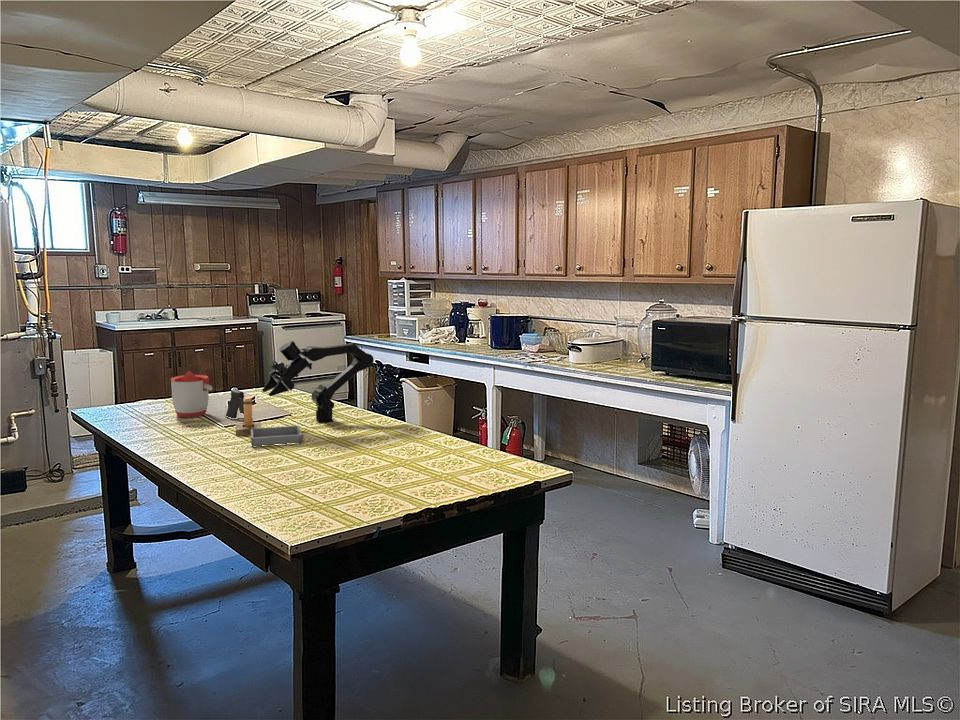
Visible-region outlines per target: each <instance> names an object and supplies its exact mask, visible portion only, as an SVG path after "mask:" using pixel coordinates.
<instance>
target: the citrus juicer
mask: <svg viewBox="0 0 960 720" xmlns="http://www.w3.org/2000/svg"><path fill="white" fill-rule="evenodd" d="M209 379H210V377H209V376H207V375H206V374H205V375H204V374H194V372H192V371H187V372H186V373H185V374H184V375H177V376H174V377H173V376H172V377H171V378H170V385H171V401H172V404H173V408H174V412H175V413H176V416H177V417H180V418H198V417H200V416H204V415H205V414H206V412H207V410H208V405H209V400H210V398H209V397H210V395H209V391H212V390H213V389H214V388H213V386H212V385H211V384H210V380H209Z"/></svg>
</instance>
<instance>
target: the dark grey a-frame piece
mask: <svg viewBox="0 0 960 720" xmlns="http://www.w3.org/2000/svg"><path fill="white" fill-rule="evenodd" d="M244 398H245V393H244V391H240V390H237V389H232V390H231V391H230V400H229V403H228V407H227V411H226V413H225V417H226V416H228V417H231V418H236V417H237V415H238V411H239V414H240V413H243V414H244V404H243V399H244Z"/></svg>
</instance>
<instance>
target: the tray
mask: <svg viewBox="0 0 960 720" xmlns="http://www.w3.org/2000/svg"><path fill="white" fill-rule="evenodd" d="M250 443H251V445H252V446H251V448H254V447H253V446H262V445H274V444H287V443H303V435H302V432H301V428H300V426H299V425H288V426H275V427H274V426H273V427H272V426H271V427H270V426H269V427H262V428H254V429H251V435H250Z"/></svg>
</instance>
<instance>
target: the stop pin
mask: <svg viewBox="0 0 960 720" xmlns="http://www.w3.org/2000/svg"><path fill="white" fill-rule="evenodd" d="M252 400H253V399H252V397H244V399H243V404H244V418H243V423H244V427H253V401H252Z"/></svg>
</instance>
